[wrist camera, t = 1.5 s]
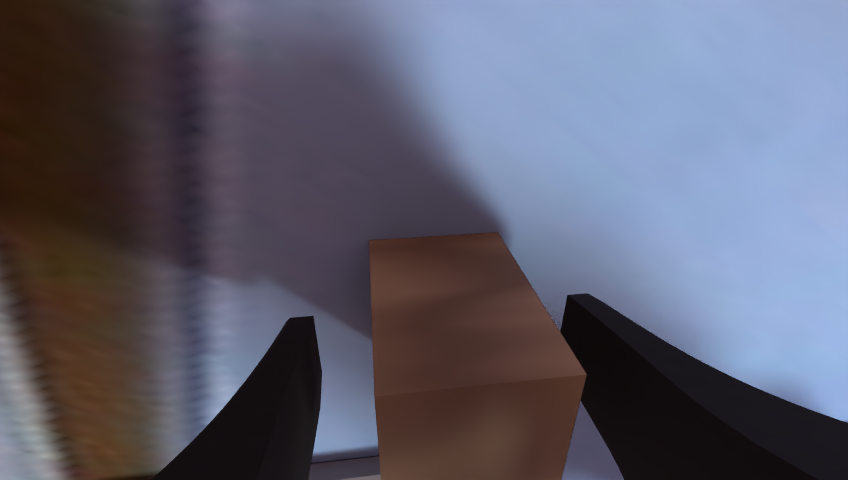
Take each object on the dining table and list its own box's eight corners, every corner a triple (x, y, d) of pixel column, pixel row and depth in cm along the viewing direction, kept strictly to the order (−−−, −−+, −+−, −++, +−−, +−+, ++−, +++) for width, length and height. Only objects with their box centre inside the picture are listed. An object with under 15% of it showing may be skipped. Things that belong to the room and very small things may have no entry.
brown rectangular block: (497, 231, 13) (586, 374, 8) (488, 331, 15) (555, 499, 10) (368, 240, 13) (374, 395, 8) (376, 342, 15) (384, 523, 10)
